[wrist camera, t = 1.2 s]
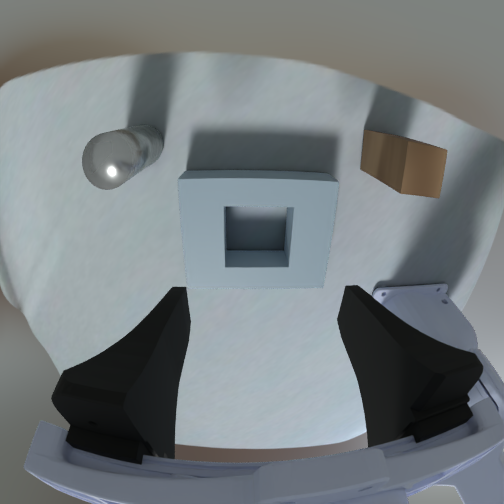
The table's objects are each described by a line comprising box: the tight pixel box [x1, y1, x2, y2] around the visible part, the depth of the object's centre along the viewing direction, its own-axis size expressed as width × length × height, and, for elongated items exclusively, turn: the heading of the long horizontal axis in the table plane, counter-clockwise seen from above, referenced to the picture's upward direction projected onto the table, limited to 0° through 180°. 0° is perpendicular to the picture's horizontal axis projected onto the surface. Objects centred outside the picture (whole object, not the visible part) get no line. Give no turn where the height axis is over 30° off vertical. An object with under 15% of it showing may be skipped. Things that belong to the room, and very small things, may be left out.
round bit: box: [82, 125, 163, 190], centre depth 15 cm, size 3×3×6 cm
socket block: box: [178, 170, 339, 289], centre depth 20 cm, size 10×8×2 cm
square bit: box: [360, 130, 447, 198], centre depth 16 cm, size 3×3×6 cm
